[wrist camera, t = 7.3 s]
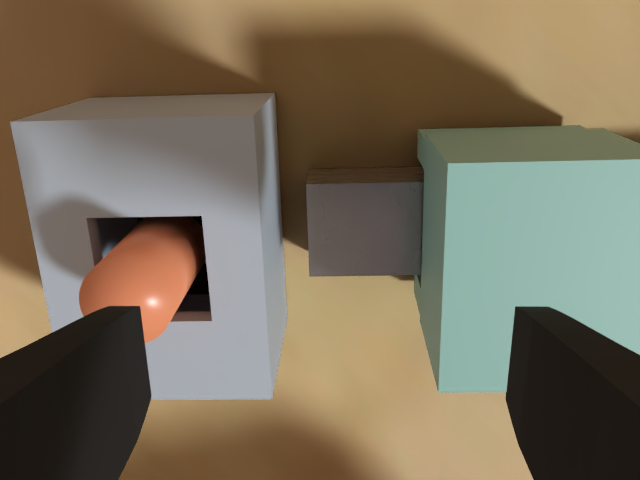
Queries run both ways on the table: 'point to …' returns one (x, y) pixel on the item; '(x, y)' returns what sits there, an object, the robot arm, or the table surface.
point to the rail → (365, 221)
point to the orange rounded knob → (148, 271)
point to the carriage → (524, 241)
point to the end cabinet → (165, 201)
